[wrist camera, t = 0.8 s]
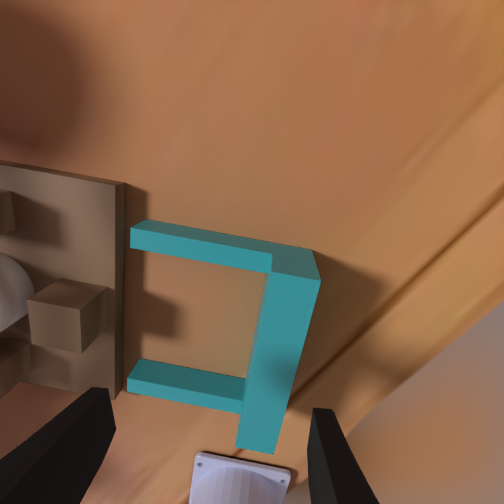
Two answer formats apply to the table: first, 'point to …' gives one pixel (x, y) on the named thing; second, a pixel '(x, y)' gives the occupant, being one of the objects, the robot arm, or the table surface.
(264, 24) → the table surface
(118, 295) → the stand
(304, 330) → the teal c-shaped bracket
